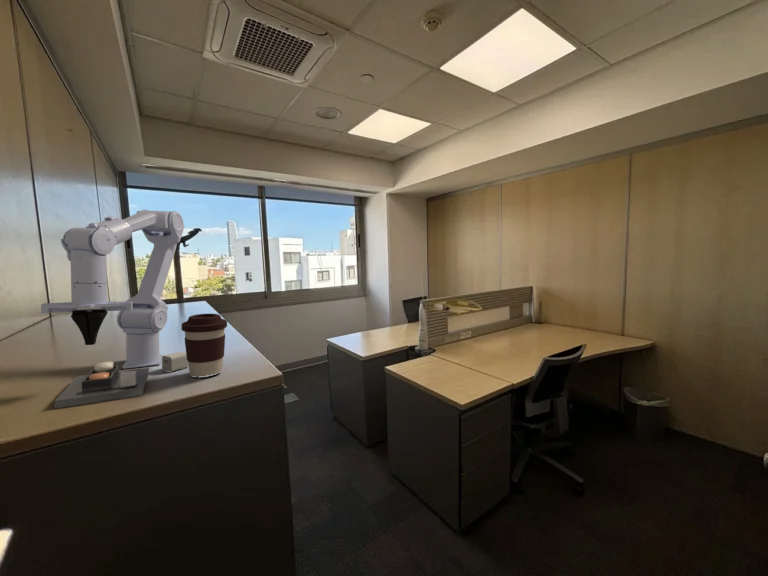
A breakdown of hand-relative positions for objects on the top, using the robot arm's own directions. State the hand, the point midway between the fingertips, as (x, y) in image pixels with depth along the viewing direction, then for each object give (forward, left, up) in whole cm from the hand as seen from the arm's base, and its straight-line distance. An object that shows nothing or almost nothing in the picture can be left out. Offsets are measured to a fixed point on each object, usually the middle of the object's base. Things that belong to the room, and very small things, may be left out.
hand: (90, 344), depth 69 cm
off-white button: (-1, +2, -6) cm, 7 cm away
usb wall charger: (-6, +17, -10) cm, 20 cm away
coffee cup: (+3, +22, -10) cm, 24 cm away
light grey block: (+9, +7, -7) cm, 14 cm away
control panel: (+4, +4, -9) cm, 11 cm away
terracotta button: (+4, +2, -7) cm, 9 cm away
